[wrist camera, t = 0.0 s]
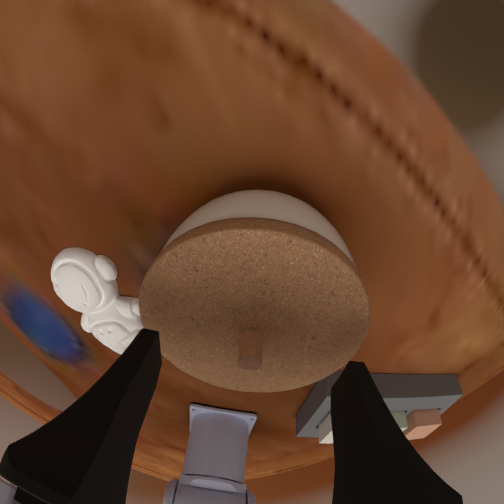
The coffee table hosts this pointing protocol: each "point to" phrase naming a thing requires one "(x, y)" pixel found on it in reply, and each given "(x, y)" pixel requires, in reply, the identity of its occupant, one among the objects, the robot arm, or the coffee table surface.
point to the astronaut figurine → (96, 296)
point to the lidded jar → (256, 294)
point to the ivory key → (325, 429)
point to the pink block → (421, 423)
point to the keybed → (383, 396)
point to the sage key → (400, 419)
